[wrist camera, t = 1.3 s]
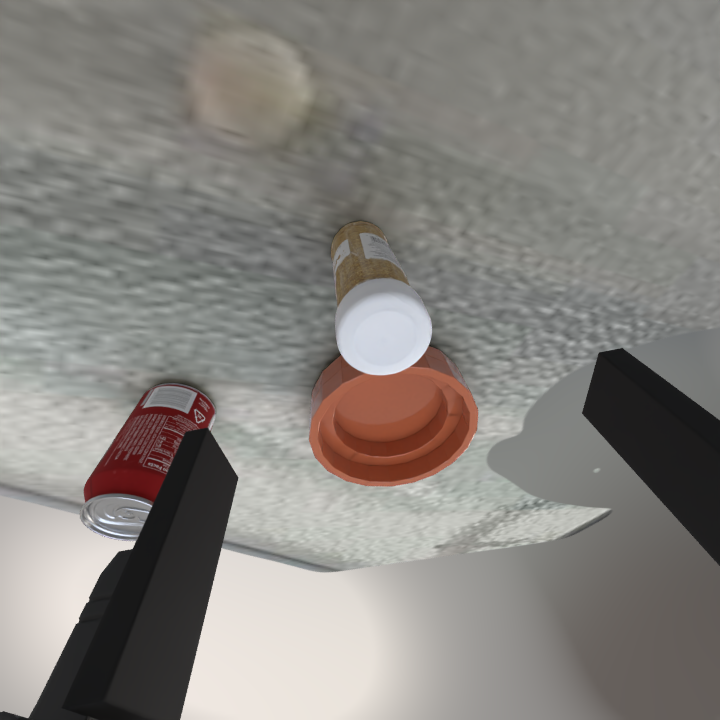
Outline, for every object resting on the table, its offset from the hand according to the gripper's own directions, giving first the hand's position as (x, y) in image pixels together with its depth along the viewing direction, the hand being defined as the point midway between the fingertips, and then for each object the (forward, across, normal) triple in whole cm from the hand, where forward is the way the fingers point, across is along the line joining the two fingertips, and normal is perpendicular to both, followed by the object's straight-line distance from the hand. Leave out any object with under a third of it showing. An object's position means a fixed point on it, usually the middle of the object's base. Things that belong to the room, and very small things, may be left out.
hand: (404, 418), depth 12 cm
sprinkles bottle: (+18, 0, 0) cm, 19 cm away
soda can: (+19, -20, -11) cm, 29 cm away
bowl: (+18, 0, -16) cm, 24 cm away
